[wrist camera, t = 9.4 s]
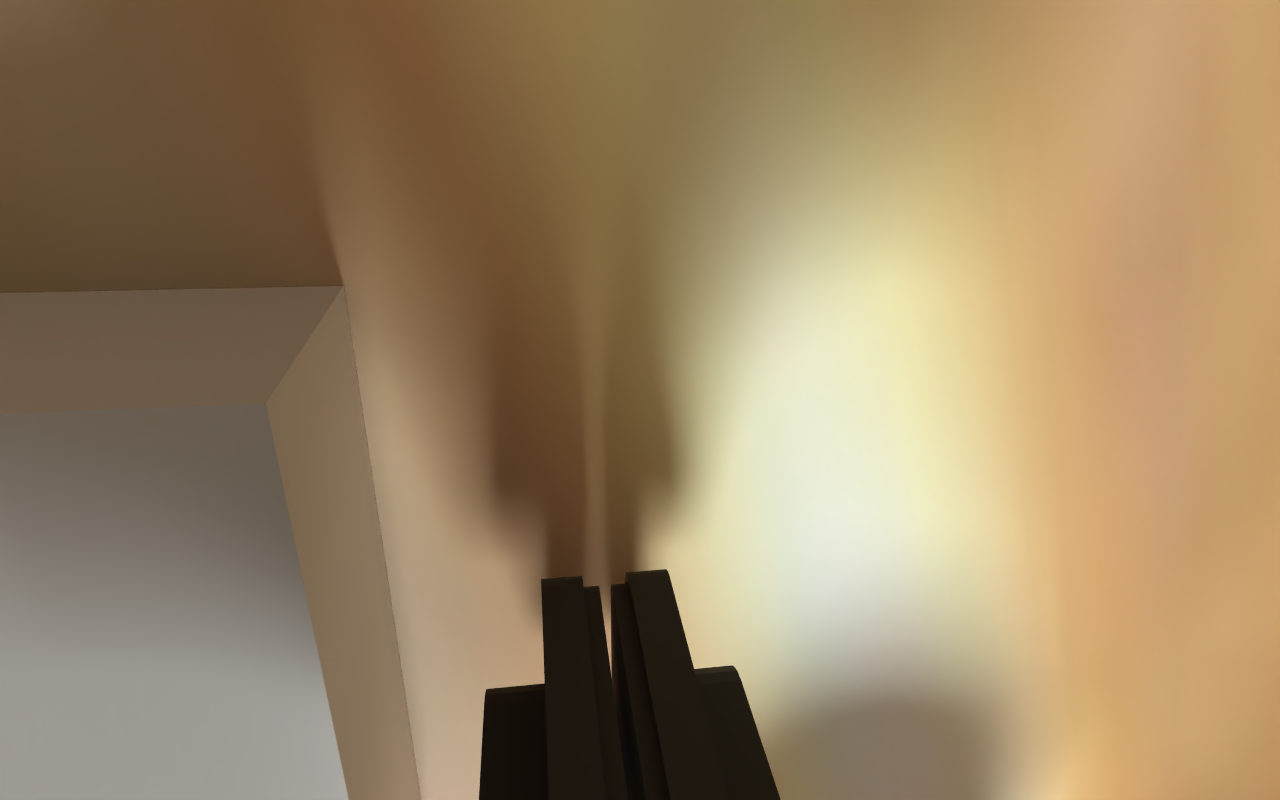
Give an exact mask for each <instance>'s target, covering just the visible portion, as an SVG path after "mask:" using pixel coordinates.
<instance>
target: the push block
mask: <svg viewBox="0 0 1280 800" xmlns="http://www.w3.org/2000/svg"><path fill="white" fill-rule="evenodd" d="M0 800H421V796H420V790H419V783H418V776H417V770H416V763H415V756H414V750H413V743H412V736H411V730H410V723H409V716H408V710H407V703H406V696H405V690H404V683H403V676H402V670H401V663H400V656H399V650H398V643H397V636H396V630H395V623H394V616H393V610H392V603H391V596H390V590H389V583H388V576H387V570H386V563H385V557H384V550H383V543H382V537H381V530H380V523H379V517H378V510H377V503H376V497H375V490H374V483H373V477H372V470H371V463H370V457H369V450H368V443H367V437H366V430H365V423H364V417H363V410H362V403H361V397H360V390H359V383H358V377H357V370H356V363H355V357H354V350H353V343H352V337H351V330H350V323H349V317H348V310H347V303H346V297H345V290H344V286H308V287H259V288H210V289H162V290H113V291H64V292H15V293H0Z"/></svg>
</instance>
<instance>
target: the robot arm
mask: <svg viewBox="0 0 1280 800" xmlns="http://www.w3.org/2000/svg"><path fill="white" fill-rule="evenodd" d="M541 586H542V615H543V645H544V674H545V684H535V685H525V686H515V687H504V688H494V689H486V693H485V702H484V719H483V737H482V755H481V773H480V791H479V800H780V797H779V794H778V791H777V788H776V785H775V782H774V779H773V776H772V773H771V770H770V766H769V763H768V760H767V757H766V754H765V751H764V748H763V745H762V742H761V739H760V736H759V733H758V730H757V727H756V724H755V721H754V718H753V715H752V712H751V709H750V706H749V703H748V700H747V697H746V694H745V691H744V688H743V685H742V682H741V679H740V677H739V674H738V672H737V670H736V669H735V667H734V666H722V667H712V668H702V669H694V667H693V663H692V660H691V656H690V652H689V648H688V644H687V641H686V637H685V633H684V629H683V626H682V622H681V618H680V614H679V610H678V607H677V603H676V599H675V595H674V591H673V588H672V584H671V580H670V576H669V573H668V571H667V570H666V569H665V570H652V571H640V572H627V573H626V578H625V584H616V585H611V652H612V678H611V671H610V663H609V656H608V648H607V641H606V634H605V626H604V619H603V612H602V604H601V597H600V590H599V586H591V587H583V579H582V576H577V577H564V578H552V579H541Z"/></svg>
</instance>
